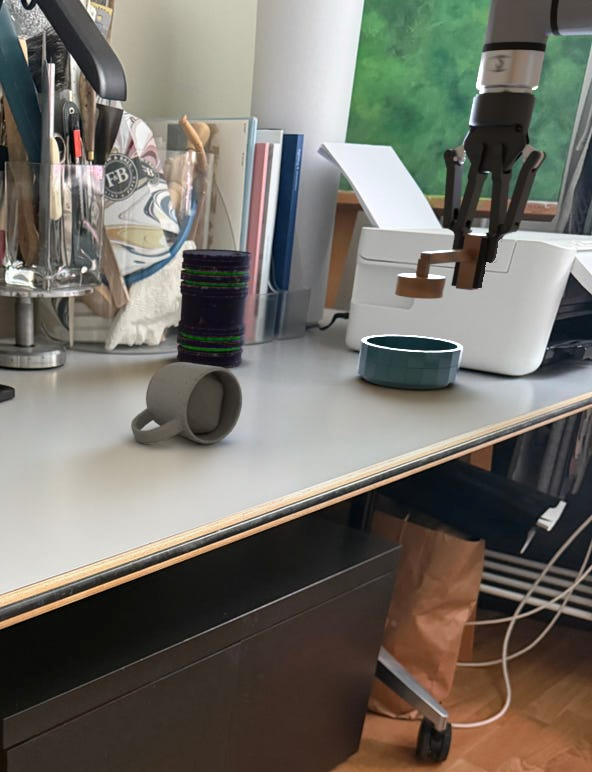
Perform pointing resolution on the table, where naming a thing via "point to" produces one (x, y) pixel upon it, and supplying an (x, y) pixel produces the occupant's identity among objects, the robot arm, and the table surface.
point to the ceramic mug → (190, 404)
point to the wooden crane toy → (434, 284)
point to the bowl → (409, 361)
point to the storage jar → (213, 307)
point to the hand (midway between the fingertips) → (468, 286)
